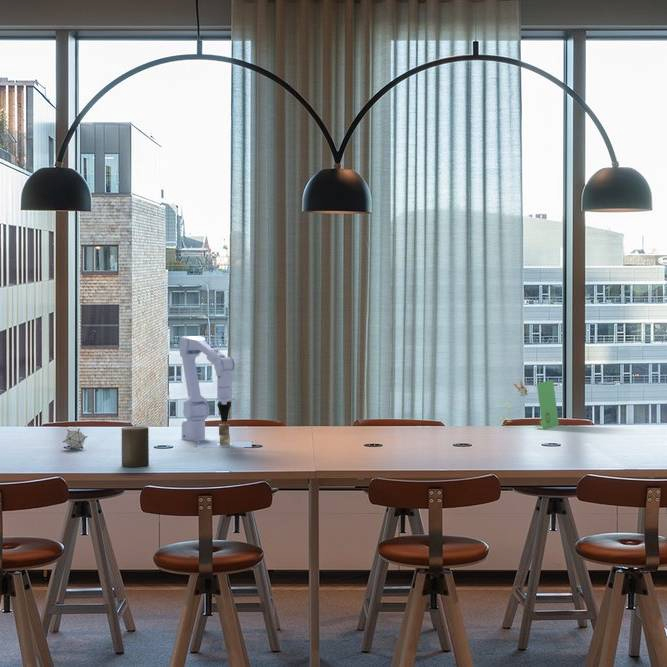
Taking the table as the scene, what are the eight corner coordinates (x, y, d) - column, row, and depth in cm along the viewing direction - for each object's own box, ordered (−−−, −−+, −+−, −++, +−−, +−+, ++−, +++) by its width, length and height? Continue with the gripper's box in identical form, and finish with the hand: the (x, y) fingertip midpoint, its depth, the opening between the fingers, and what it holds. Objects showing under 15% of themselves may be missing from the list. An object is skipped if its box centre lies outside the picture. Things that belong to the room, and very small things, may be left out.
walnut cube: (219, 435, 430) (218, 425, 430) (219, 433, 434) (219, 424, 434) (228, 435, 431) (228, 425, 431) (229, 433, 435) (229, 424, 435)
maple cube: (219, 445, 431) (219, 435, 430) (220, 443, 435) (220, 433, 434) (229, 444, 431) (229, 435, 431) (229, 443, 435) (229, 433, 435)
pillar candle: (149, 467, 380) (149, 425, 379) (121, 467, 378) (121, 425, 377) (148, 463, 389) (148, 422, 389) (121, 464, 387) (121, 422, 387)
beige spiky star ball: (70, 458, 422) (54, 439, 421) (81, 448, 430) (66, 429, 428) (84, 449, 418) (68, 429, 417) (95, 439, 425) (80, 419, 424)
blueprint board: (196, 448, 424) (196, 447, 424) (197, 443, 439) (197, 442, 439) (251, 448, 426) (251, 446, 426) (251, 443, 441) (251, 441, 441)
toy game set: (510, 429, 517) (504, 380, 518) (559, 425, 504) (553, 375, 505) (493, 434, 499) (486, 383, 499) (543, 430, 486) (537, 378, 486)
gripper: (234, 388, 425) (234, 422, 425) (234, 385, 439) (234, 418, 440) (216, 388, 424) (216, 422, 425) (217, 385, 439) (217, 418, 439)
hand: (224, 420), depth 432 cm, fingers open, 7 cm apart
